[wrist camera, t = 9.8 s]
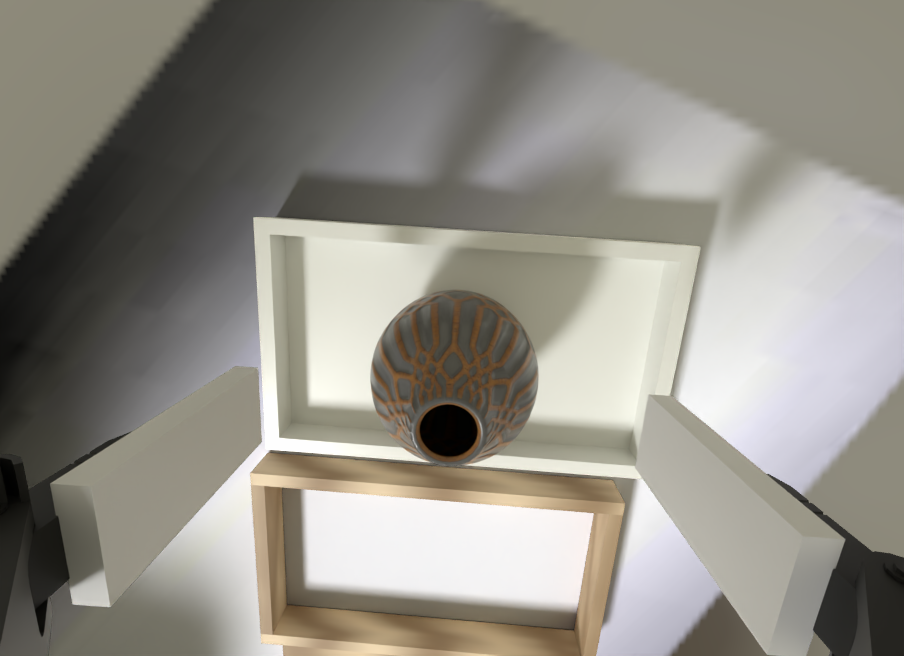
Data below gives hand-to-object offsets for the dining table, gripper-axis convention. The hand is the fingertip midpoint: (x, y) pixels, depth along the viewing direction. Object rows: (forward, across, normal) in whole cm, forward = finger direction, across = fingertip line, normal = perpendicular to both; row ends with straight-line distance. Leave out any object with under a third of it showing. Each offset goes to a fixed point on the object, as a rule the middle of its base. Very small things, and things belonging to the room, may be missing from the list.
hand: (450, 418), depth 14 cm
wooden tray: (+8, 0, -13) cm, 15 cm away
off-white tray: (+8, 0, 0) cm, 8 cm away
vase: (+8, 0, 0) cm, 8 cm away
